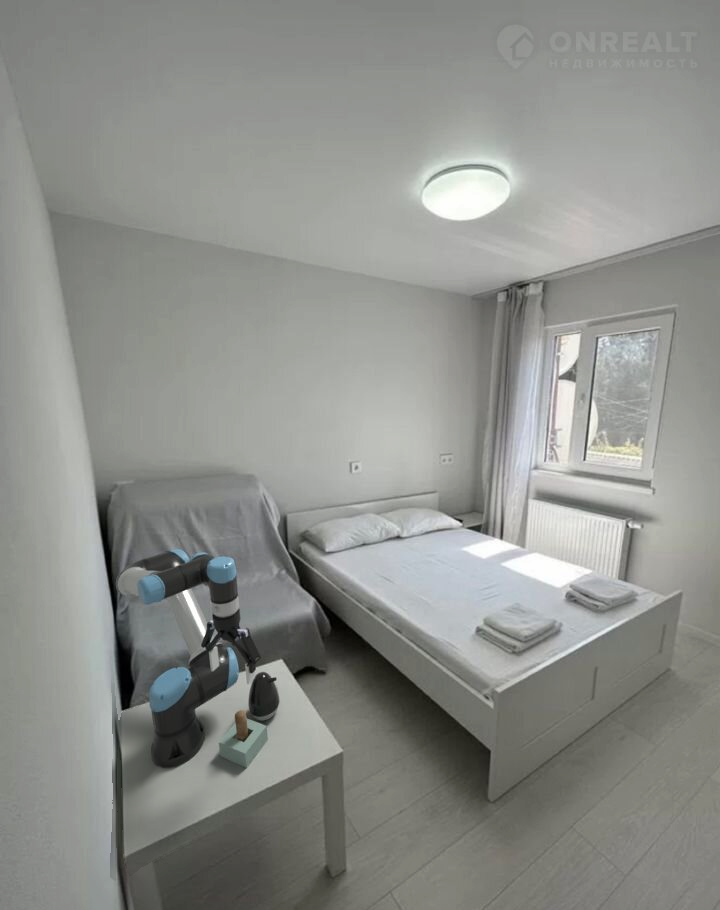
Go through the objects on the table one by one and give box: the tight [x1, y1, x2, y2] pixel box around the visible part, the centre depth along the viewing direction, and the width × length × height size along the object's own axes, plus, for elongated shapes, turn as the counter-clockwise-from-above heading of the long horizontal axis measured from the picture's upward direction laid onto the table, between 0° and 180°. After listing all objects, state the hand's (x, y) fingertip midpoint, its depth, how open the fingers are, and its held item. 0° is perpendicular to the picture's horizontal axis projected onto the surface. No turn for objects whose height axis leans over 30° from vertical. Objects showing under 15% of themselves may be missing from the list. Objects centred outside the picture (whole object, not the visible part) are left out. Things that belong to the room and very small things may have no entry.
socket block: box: [218, 717, 269, 769], centre depth 122 cm, size 10×10×5 cm
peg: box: [234, 709, 249, 742], centre depth 121 cm, size 3×3×12 cm
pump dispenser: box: [247, 671, 280, 721], centre depth 133 cm, size 10×10×15 cm
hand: (232, 674), depth 119 cm, fingers open, 13 cm apart
